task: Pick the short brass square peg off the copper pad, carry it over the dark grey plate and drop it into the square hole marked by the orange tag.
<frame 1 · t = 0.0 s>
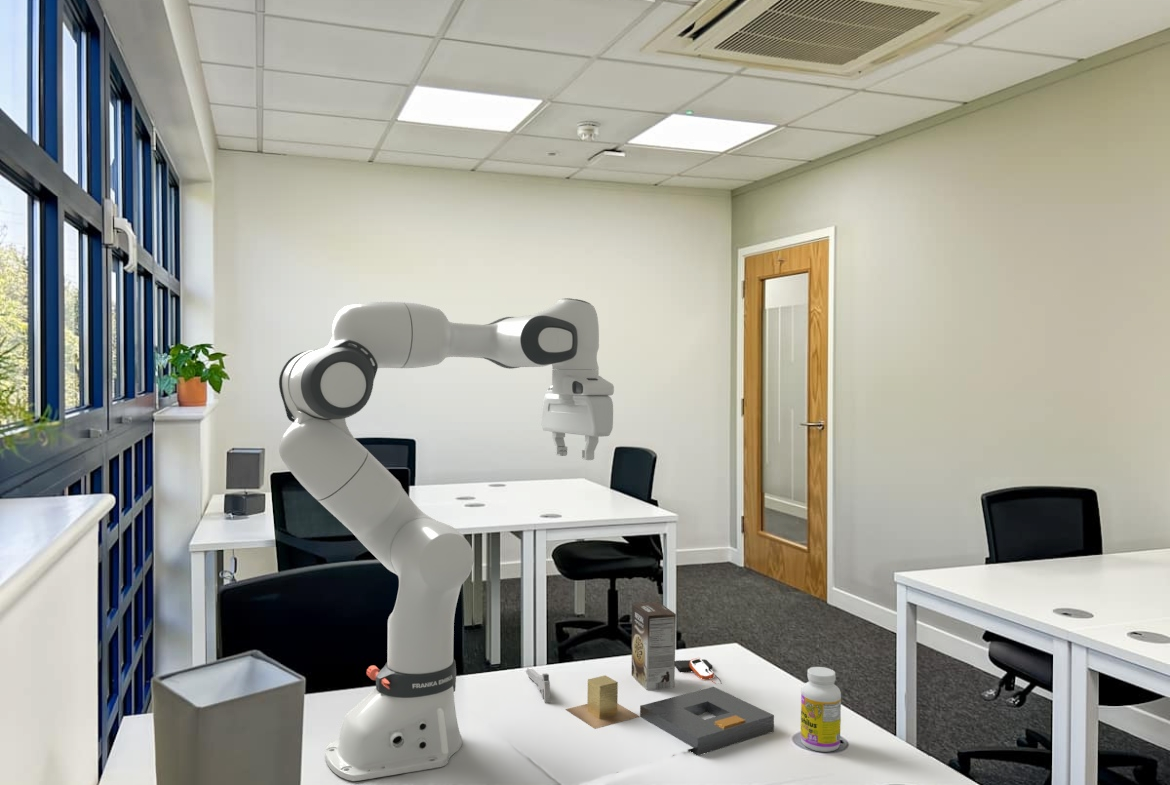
hand: (574, 457, 156), 48 cm above the table, tool pointing down, fingers open, 8 cm apart
coffee box: (652, 686, 169), on the table
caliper: (537, 690, 167), on the table
brass peg: (602, 712, 152), point 1 cm above the table, touching copper pad
hole plate: (706, 726, 149), on the table
multimeter: (709, 682, 173), on the table
supplement bottle: (820, 745, 142), on the table
copper pad: (602, 718, 152), on the table
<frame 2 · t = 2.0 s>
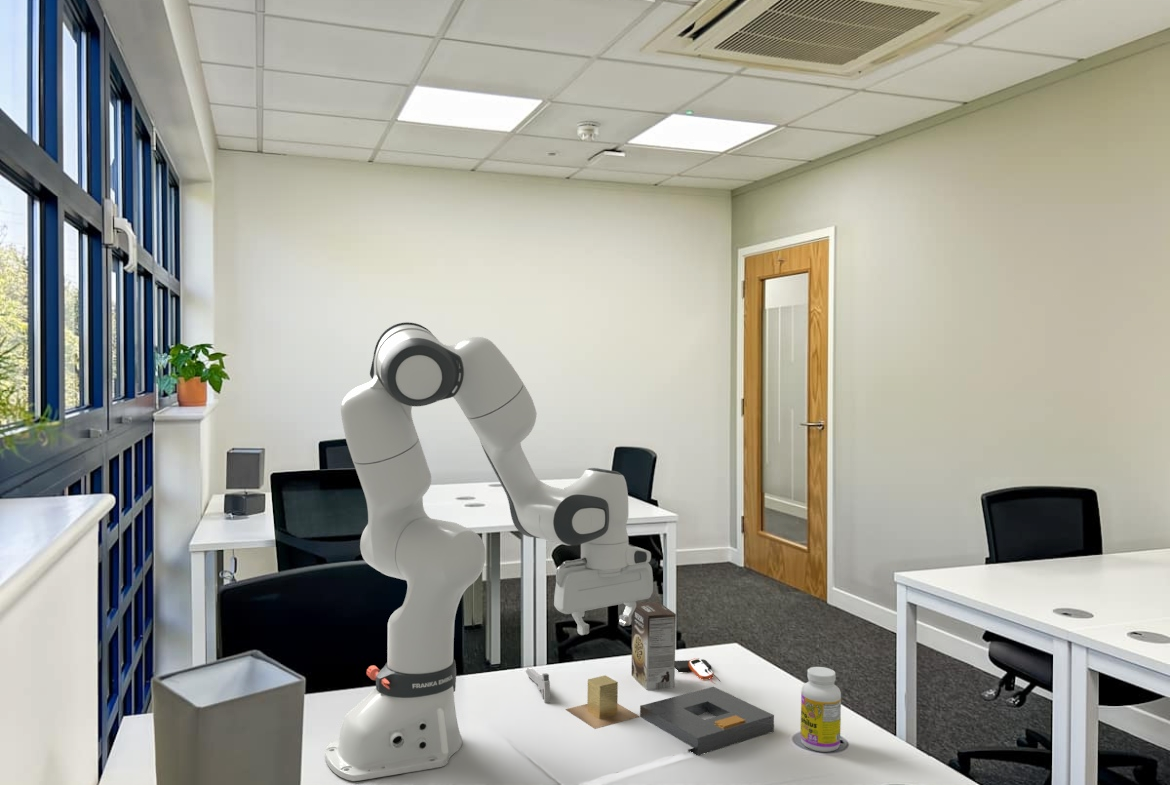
hand: (604, 629, 152), 17 cm above the table, tool pointing down, fingers open, 8 cm apart
nothing on the table moved.
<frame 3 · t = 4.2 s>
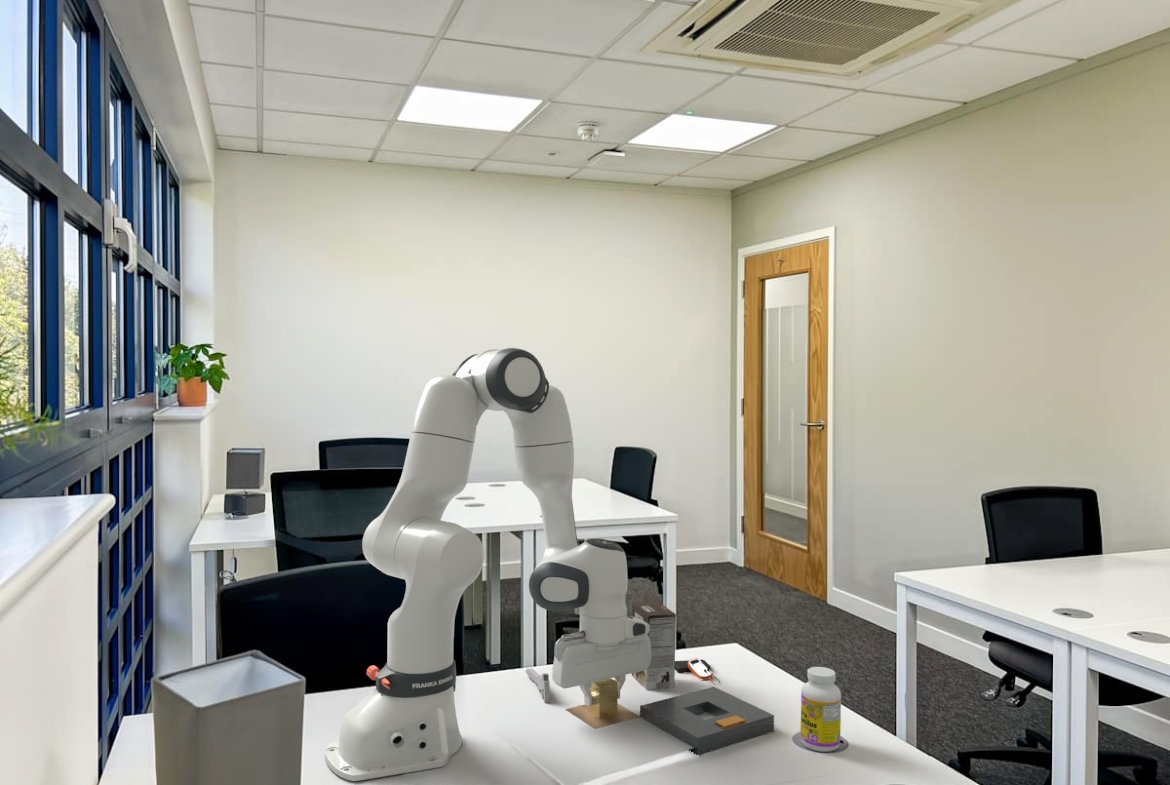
hand: (602, 701, 152), 3 cm above the table, tool pointing down, fingers closed on brass peg, 4 cm apart
brass peg: (602, 712, 152), point 1 cm above the table, touching gripper, copper pad
everything else where it was.
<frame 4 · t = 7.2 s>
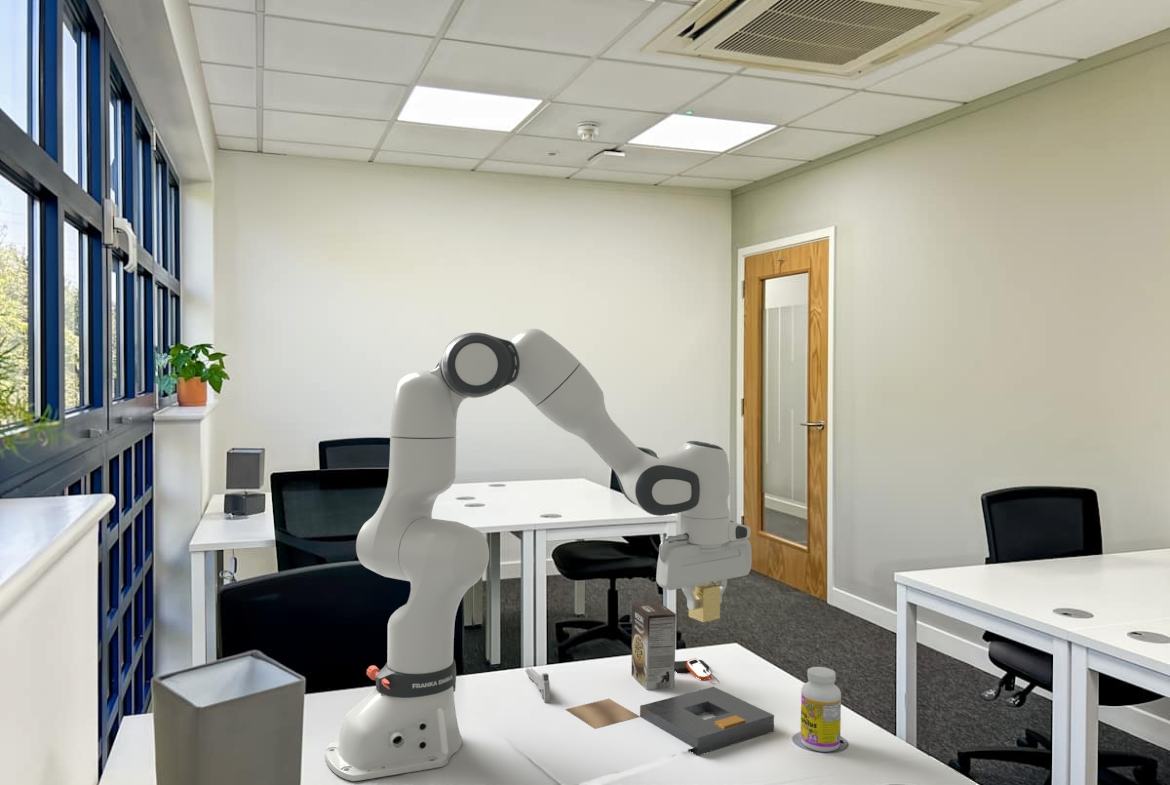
hand: (704, 606, 149), 22 cm above the table, tool pointing down, fingers closed on brass peg, 4 cm apart
brass peg: (704, 617, 149), point 20 cm above the table, touching gripper
everything else where it was.
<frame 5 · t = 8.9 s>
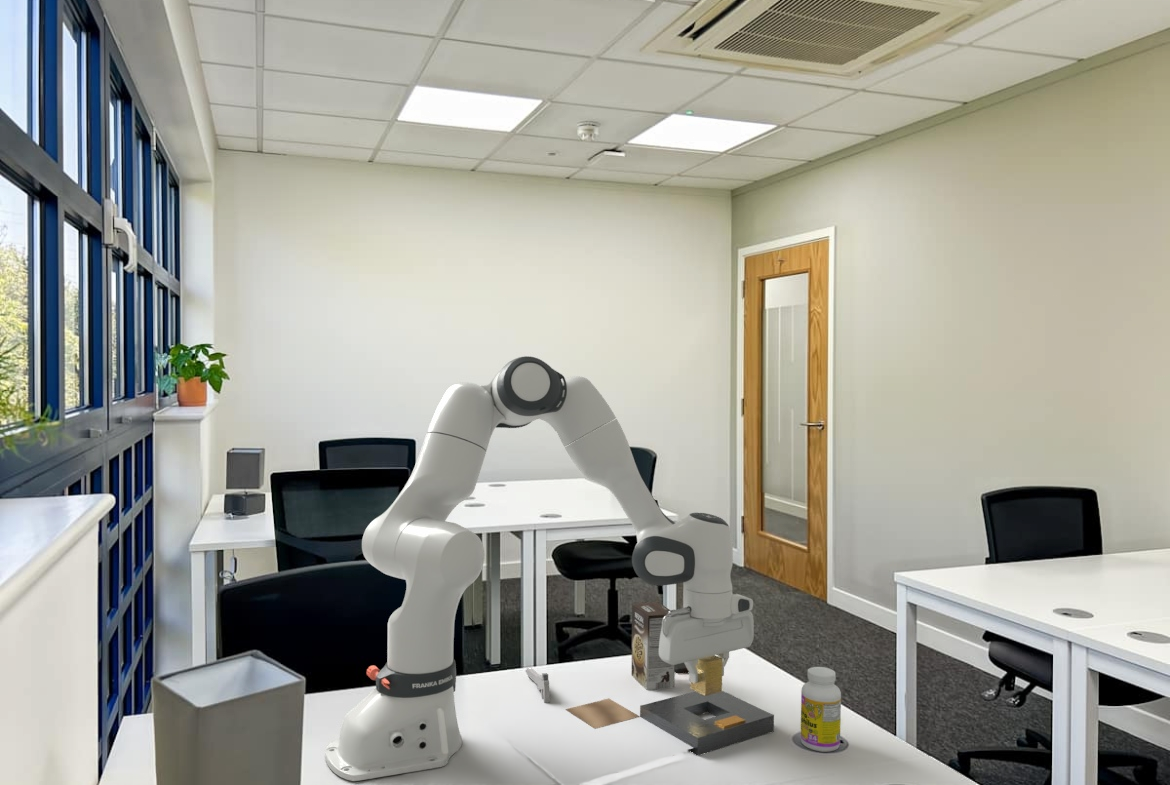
hand: (706, 678, 149), 9 cm above the table, tool pointing down, fingers closed on brass peg, 4 cm apart
brass peg: (706, 690, 149), point 7 cm above the table, touching gripper
everything else where it was.
when the fingers open (6 cm above the table, at t = 10.2 s): brass peg drops 4 cm, resting in hole plate.
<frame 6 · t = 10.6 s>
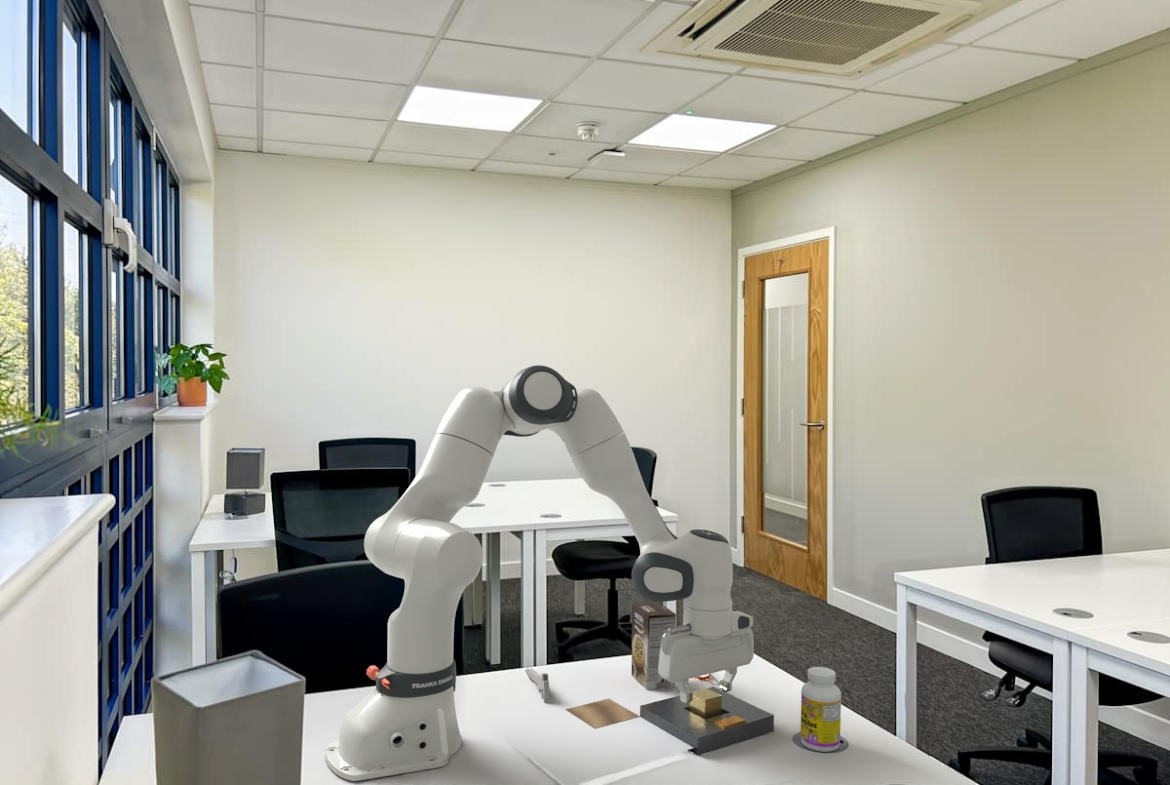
hand: (706, 696, 149), 6 cm above the table, tool pointing down, fingers open, 8 cm apart
brass peg: (705, 726, 149), resting in hole plate
everything else where it was.
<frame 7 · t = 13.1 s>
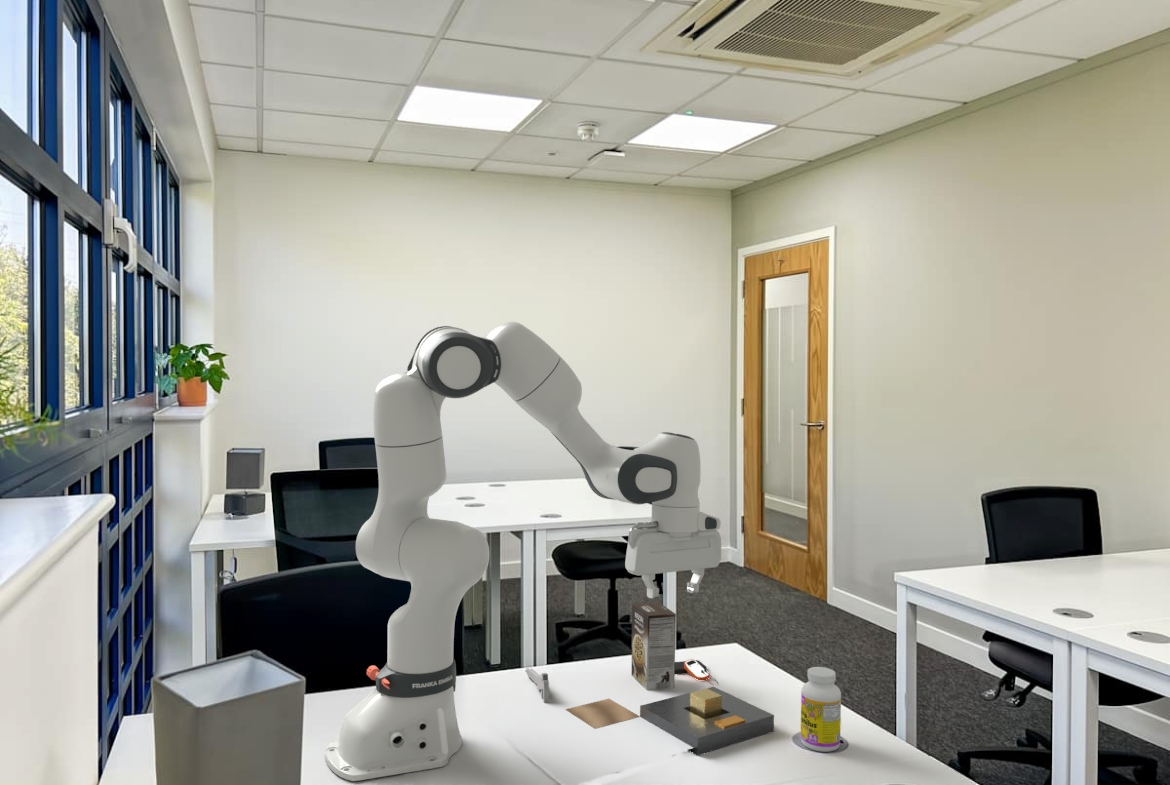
hand: (673, 595, 152), 23 cm above the table, tool pointing down, fingers open, 8 cm apart
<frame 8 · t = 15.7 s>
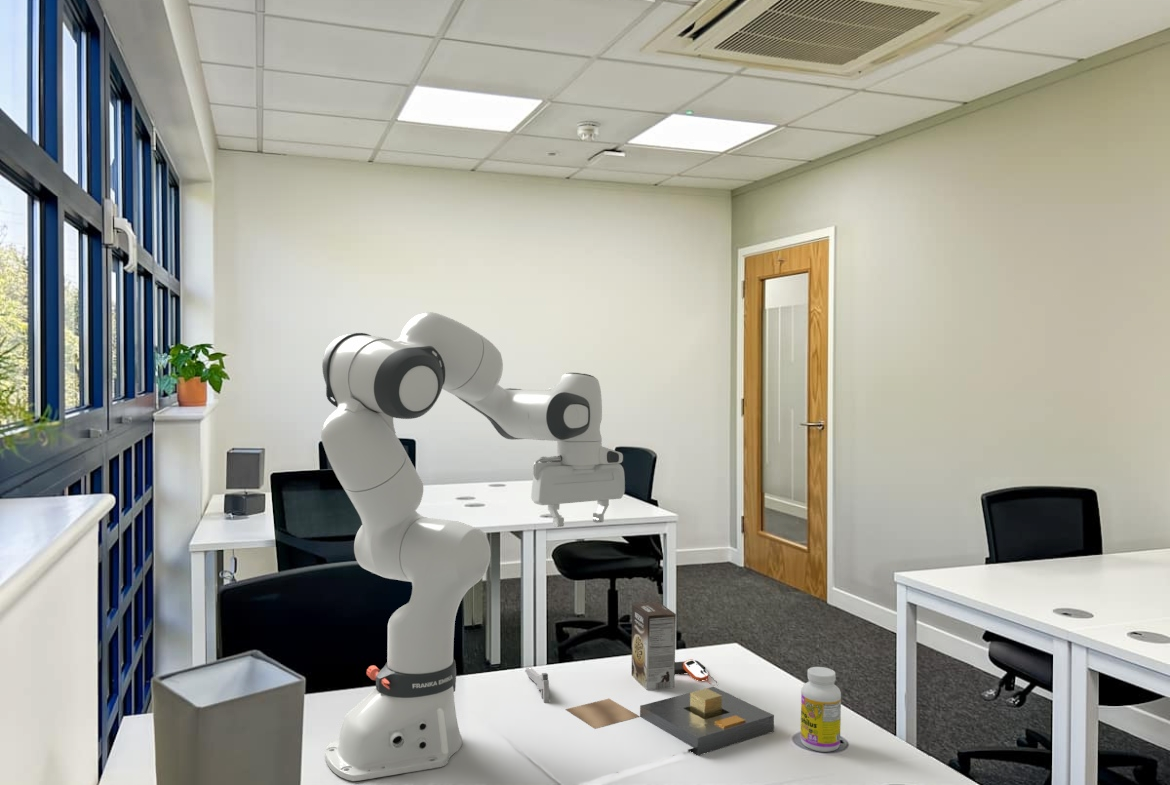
hand: (578, 524, 163), 34 cm above the table, tool pointing down, fingers open, 8 cm apart
at the end: brass peg 0.1 cm off-centre on the hole plate, point 0.0 cm above the hole plate's base; brass peg tilted 0°; the gripper is holding nothing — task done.
